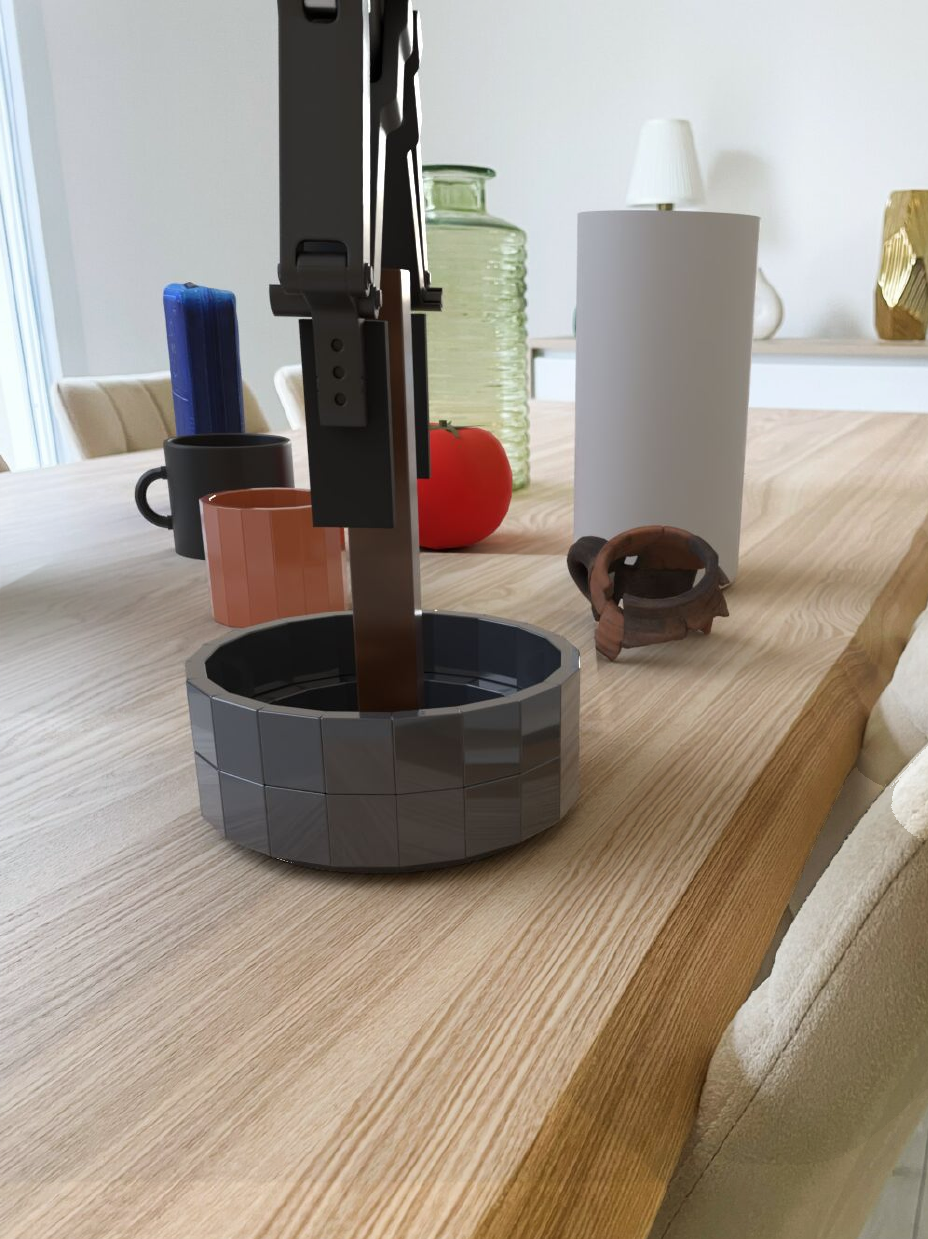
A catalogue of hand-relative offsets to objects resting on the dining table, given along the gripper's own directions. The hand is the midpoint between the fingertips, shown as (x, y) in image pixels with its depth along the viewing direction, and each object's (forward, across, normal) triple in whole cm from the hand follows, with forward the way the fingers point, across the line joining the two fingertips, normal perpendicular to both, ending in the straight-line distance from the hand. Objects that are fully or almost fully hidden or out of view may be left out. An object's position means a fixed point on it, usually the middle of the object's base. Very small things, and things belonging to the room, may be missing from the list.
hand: (379, 499), depth 46 cm
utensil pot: (+13, +29, +11) cm, 34 cm away
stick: (+12, 0, 0) cm, 12 cm away
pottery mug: (+13, +26, -12) cm, 31 cm away
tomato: (+13, +56, +3) cm, 58 cm away
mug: (+13, +49, +20) cm, 54 cm away
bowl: (+13, 0, 0) cm, 13 cm away
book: (+13, +70, +26) cm, 76 cm away
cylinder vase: (+13, +44, -14) cm, 48 cm away
